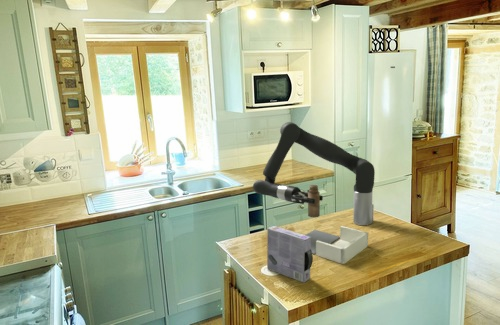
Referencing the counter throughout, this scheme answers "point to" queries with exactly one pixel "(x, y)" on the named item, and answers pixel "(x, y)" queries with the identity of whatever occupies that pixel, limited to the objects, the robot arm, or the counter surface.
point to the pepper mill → (315, 194)
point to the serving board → (320, 238)
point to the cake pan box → (289, 253)
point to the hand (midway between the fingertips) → (318, 200)
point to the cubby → (343, 245)
